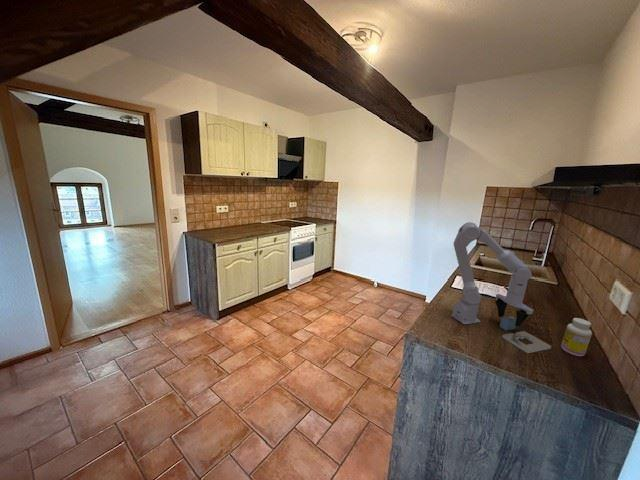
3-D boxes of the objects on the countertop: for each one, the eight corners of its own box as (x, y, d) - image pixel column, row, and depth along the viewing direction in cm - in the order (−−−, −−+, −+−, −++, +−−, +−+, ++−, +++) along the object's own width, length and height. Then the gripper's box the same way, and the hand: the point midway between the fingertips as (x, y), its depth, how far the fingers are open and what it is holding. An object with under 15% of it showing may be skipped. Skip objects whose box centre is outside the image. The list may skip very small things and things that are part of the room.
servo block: (506, 330, 109) (508, 320, 108) (499, 326, 112) (501, 316, 110) (514, 329, 110) (517, 318, 109) (508, 325, 113) (510, 315, 112)
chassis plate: (527, 353, 94) (528, 350, 94) (502, 337, 104) (502, 334, 103) (550, 348, 98) (551, 346, 97) (523, 333, 107) (524, 331, 107)
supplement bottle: (559, 343, 101) (568, 314, 98) (583, 350, 97) (593, 320, 94) (561, 351, 96) (570, 321, 93) (585, 359, 92) (596, 328, 89)
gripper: (541, 298, 101) (533, 329, 104) (506, 284, 115) (500, 311, 118) (528, 300, 99) (520, 331, 102) (494, 285, 113) (488, 313, 116)
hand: (509, 320), depth 110 cm, fingers open, 7 cm apart
